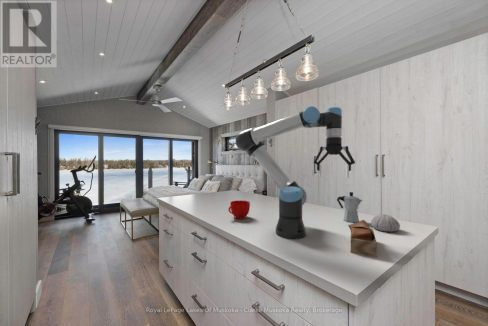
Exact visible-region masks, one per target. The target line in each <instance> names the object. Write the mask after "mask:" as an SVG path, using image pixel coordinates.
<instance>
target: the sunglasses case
mask: <svg viewBox="0 0 488 326" xmlns="http://www.w3.org/2000/svg"><path fill="white" fill-rule="evenodd" d="M347 227H349V229H350V238H351V237H353V238H357V239H361V240H368V241H372V240H374V238H375V239H376V235H375V233H374V234H373V232H372V230H371V229H372V228H371V227H370V225H369V224H368V223H367V221H366V220H365V219H361V220H359V222H357V223H350V224H348V225H347ZM374 235H375V236H374Z"/></svg>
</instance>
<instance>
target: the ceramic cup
mask: <svg viewBox="0 0 488 326" xmlns="http://www.w3.org/2000/svg"><path fill="white" fill-rule="evenodd" d="M229 204H230V205H229V207H228V209H227V210H228V212H229V213H230V214H231V215H233V217H234V218H235V219H237V220H238V219H240V220H242V219H246V217H247V216H248V215H249V213H250V207H251V203H250V201H248V200H241V199H240V200H239V199H238V200H233V201H232V200H231V201H230V203H229Z"/></svg>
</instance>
